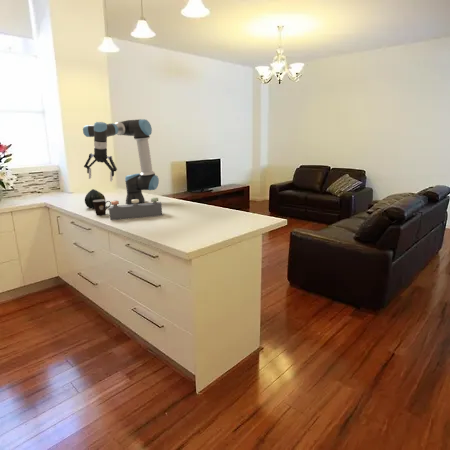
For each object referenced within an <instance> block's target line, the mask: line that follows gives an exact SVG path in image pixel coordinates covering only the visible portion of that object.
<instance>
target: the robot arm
mask: <svg viewBox="0 0 450 450" xmlns="http://www.w3.org/2000/svg"><path fill="white" fill-rule="evenodd" d="M82 132H83V135H84V136H85V137H87V138H93V141H94V142H93V144H94V145H93V146H94V150H93V153H92V152H91V153H89V155H88V158H87V159H86V161H85V164H84V165H83V167H84V168H86V173H87V174H88V179H89V180H91V178H92V168H91V167H92V166H93V165H94V164H95V163H96V162H97V163H101V164H102V163H104V164H105V165H106V166H107V168H108V169H109V170H110V172H109V174H110V175H109V177H110V178H109V179H110V182H112V181H113V177H114V175H115V172H117V170H118V168H117V167H116V164H115V162H114V159H113V156H112V155H110V156H109V155H108V150H107V147H108V137H113V136H116V135H117V136H127V137H133V138H134V140H135V141H136V146H137V152H138V158H139V165H140V173H134V174H133V173H132V174H128V175H125V180H124V181H125V186H126V198H125V205H131V204H134V203H132V202H131V200H133V199H139V203H137V204H143V203H146V199H145V197H144V195H143V191H155V190H157V188H158V186H159V181H160V180H159V179H160V178H159V177H158V175H156V173H155V171H154V170H153V164H152V160H151V159H152V158H151V152H150V146H149V145H150V144H149V139H150V137H151V135H152V132H153V129H152V125H151V123H150V122H149V121H148V120H147V119H144V118H139V119H128V120H121V121H117V122H115V123H113V122H112V123H106V122H103V121H95V122H94V124H87V125H84V126H83V127H82ZM92 158H94V160H93V161H92V162H91V163H90V161H91V160H92ZM107 159H108V160H107Z"/></svg>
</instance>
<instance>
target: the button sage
mask: <svg viewBox="0 0 450 450" xmlns="http://www.w3.org/2000/svg"><path fill="white" fill-rule="evenodd" d="M150 201H151V203H153V204H157V202H159V197H152V198H150Z"/></svg>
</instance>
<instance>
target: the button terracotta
mask: <svg viewBox="0 0 450 450" xmlns="http://www.w3.org/2000/svg"><path fill="white" fill-rule="evenodd" d="M110 202H111V205H110V206H114V207H117V206H118V205H119V204H120V201H119V200H113V201H112V200H111V201H110Z"/></svg>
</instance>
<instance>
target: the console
mask: <svg viewBox="0 0 450 450" xmlns="http://www.w3.org/2000/svg"><path fill="white" fill-rule="evenodd" d="M108 211H109V219H110V221H115V220H116V221H117V220H128V218H129V219H136V218H137V219H138V218H139V219H140V218H148V217H149V218H150V217H158V216H159V217H161V216H163V207H162V202H161V201H157V204H153V202H144V203H140V204H137V205H136V206H134V204H121V205H119V204H118V205H117V207H114V206H113V205H110V207H109V208H108Z"/></svg>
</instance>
